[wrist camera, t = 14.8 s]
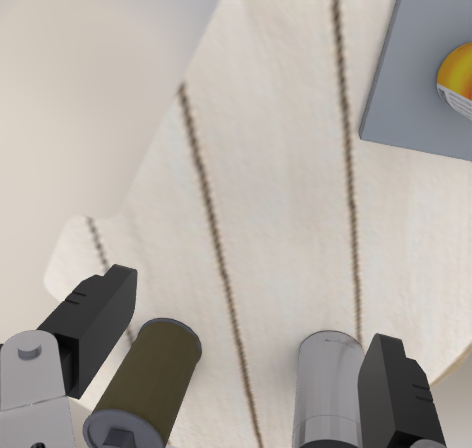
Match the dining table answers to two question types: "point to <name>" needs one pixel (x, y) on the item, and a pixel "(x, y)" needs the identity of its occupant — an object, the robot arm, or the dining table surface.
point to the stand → (419, 80)
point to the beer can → (457, 80)
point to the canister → (146, 389)
